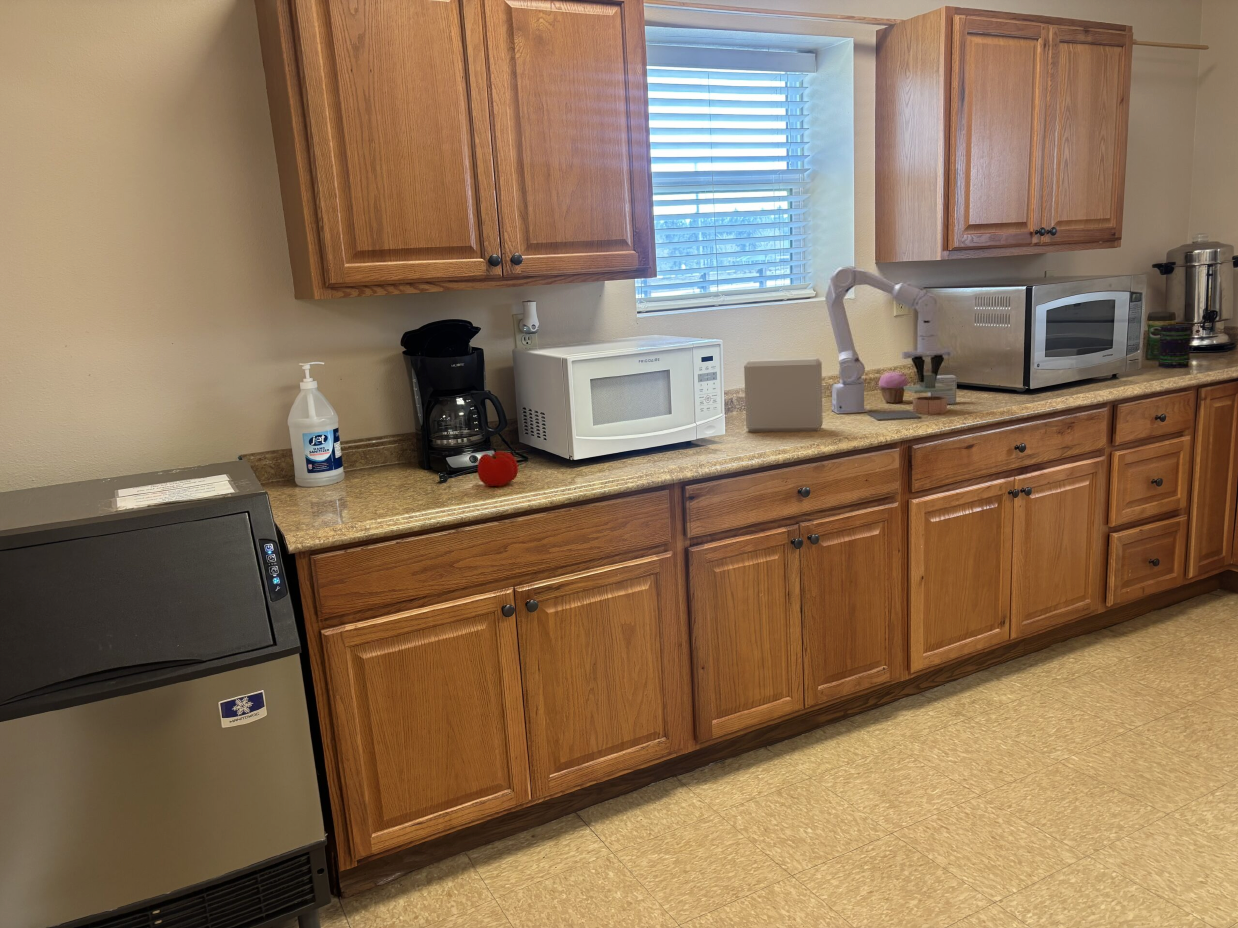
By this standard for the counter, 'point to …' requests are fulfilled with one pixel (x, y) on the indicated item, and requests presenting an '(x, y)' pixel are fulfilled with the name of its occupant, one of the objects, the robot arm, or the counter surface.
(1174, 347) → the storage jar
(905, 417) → the mat
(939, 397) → the bowl
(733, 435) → the counter surface
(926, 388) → the lid
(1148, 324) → the coffee jar
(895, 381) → the cupcake
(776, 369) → the taupe bevelled box
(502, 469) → the tomato
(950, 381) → the medicine box
